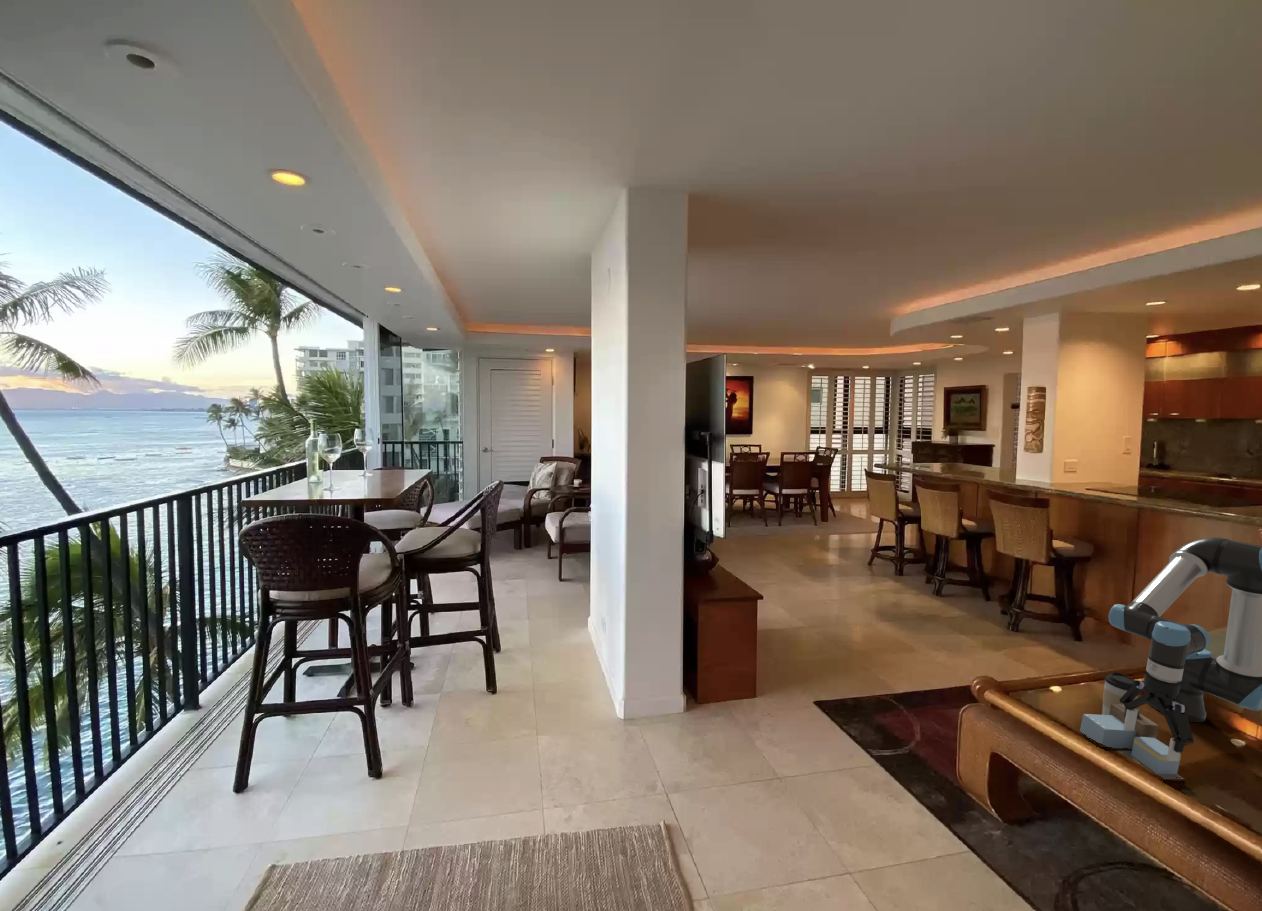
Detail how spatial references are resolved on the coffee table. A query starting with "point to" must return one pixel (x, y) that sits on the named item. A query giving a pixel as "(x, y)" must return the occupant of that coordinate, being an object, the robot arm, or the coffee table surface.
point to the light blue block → (1154, 755)
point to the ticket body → (1107, 731)
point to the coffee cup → (1115, 690)
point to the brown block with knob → (1142, 724)
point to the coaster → (1165, 776)
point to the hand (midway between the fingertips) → (1149, 744)
